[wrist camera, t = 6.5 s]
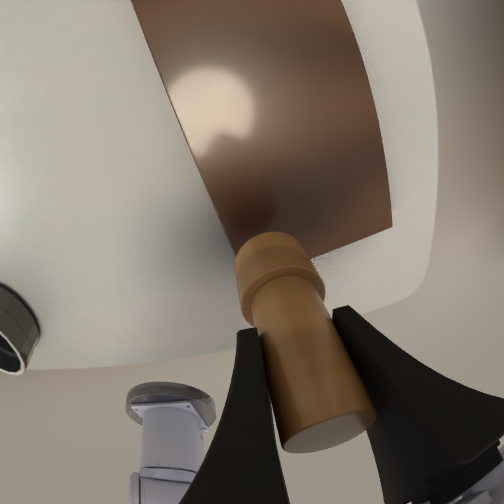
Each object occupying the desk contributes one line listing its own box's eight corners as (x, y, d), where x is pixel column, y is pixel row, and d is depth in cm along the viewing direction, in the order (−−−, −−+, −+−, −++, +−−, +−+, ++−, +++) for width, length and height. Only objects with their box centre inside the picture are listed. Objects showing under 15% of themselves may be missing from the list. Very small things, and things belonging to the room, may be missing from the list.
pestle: (306, 284, 15) (375, 435, 7) (240, 298, 15) (272, 465, 7) (303, 224, 13) (405, 384, 5) (228, 239, 13) (259, 429, 5)
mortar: (53, 341, 21) (39, 377, 17) (9, 344, 21) (-5, 373, 17) (11, 275, 17) (-13, 308, 13) (-29, 286, 16) (-50, 314, 13)
